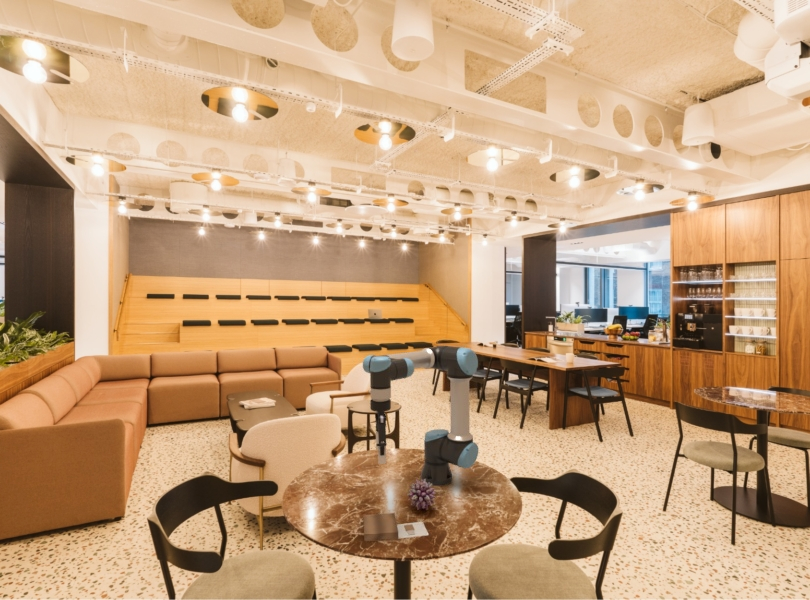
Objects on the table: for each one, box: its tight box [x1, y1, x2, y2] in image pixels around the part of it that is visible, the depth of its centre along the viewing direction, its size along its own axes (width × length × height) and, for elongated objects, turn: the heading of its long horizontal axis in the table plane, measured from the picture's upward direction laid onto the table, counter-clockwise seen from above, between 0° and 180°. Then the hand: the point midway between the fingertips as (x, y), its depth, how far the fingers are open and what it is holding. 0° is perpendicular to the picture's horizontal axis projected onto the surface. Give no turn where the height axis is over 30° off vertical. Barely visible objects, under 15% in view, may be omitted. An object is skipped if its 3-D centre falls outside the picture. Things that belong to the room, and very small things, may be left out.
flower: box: [407, 478, 437, 511], centre depth 168 cm, size 12×12×12 cm
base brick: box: [362, 512, 399, 542], centre depth 152 cm, size 12×13×3 cm
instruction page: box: [397, 521, 429, 540], centre depth 152 cm, size 12×9×1 cm
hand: (380, 456), depth 152 cm, fingers open, 13 cm apart
